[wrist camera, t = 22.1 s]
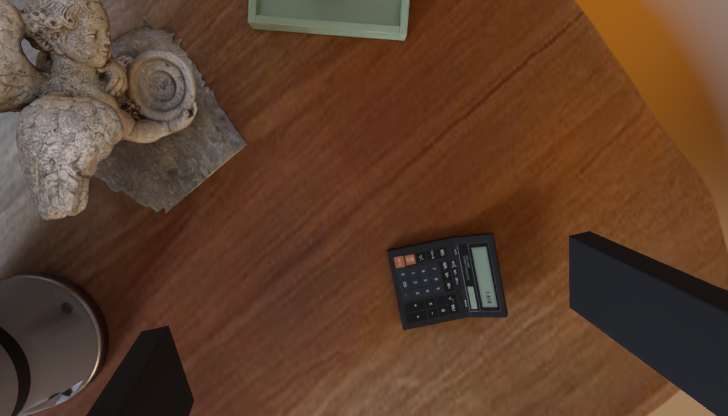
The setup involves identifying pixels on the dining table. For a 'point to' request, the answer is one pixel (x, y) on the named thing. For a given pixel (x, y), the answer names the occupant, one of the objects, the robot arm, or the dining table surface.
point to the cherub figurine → (107, 108)
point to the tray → (332, 17)
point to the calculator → (448, 280)
